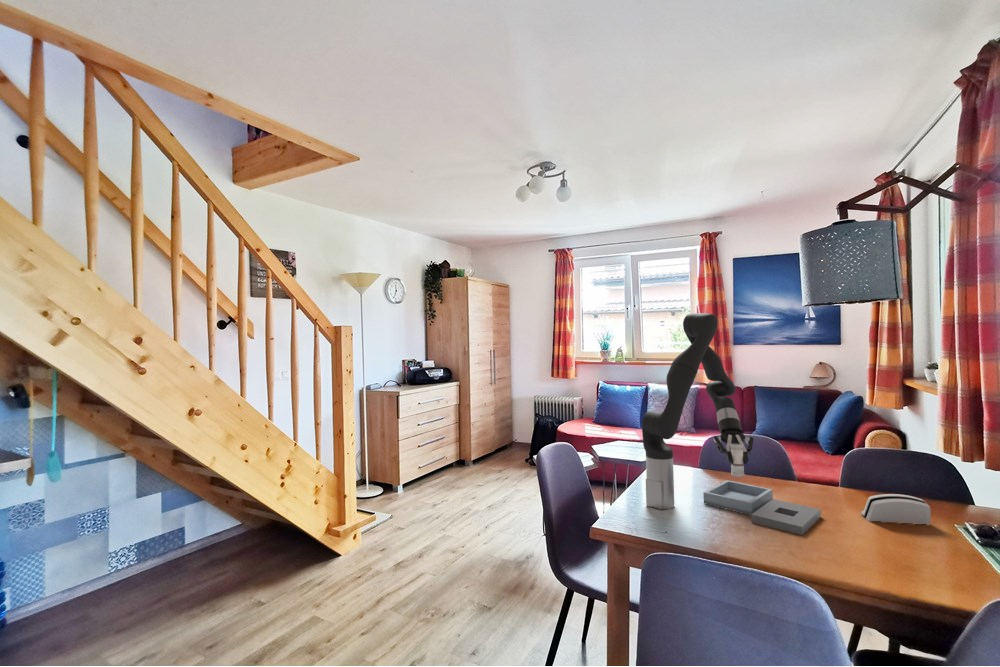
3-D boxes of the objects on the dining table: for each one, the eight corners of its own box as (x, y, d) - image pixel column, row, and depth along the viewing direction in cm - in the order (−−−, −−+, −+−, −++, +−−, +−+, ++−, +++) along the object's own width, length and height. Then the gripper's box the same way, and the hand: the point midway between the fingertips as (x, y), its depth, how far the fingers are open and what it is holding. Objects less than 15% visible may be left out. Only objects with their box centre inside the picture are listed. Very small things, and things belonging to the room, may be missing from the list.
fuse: (741, 477, 161) (740, 446, 162) (729, 475, 165) (728, 444, 165) (746, 475, 164) (745, 444, 164) (733, 472, 167) (732, 442, 167)
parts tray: (751, 515, 151) (751, 503, 152) (703, 503, 163) (703, 492, 164) (772, 500, 165) (772, 489, 165) (727, 490, 177) (726, 480, 177)
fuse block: (802, 535, 136) (801, 526, 136) (751, 522, 146) (751, 514, 146) (820, 517, 149) (820, 509, 149) (773, 506, 159) (772, 499, 159)
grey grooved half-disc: (921, 519, 145) (926, 493, 142) (930, 530, 141) (936, 503, 138) (859, 515, 150) (863, 489, 147) (866, 525, 145) (871, 499, 142)
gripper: (710, 416, 174) (718, 456, 162) (751, 417, 170) (763, 458, 158) (707, 427, 179) (715, 467, 167) (747, 428, 175) (758, 469, 163)
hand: (738, 462), depth 163 cm, fingers closed on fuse, 4 cm apart
